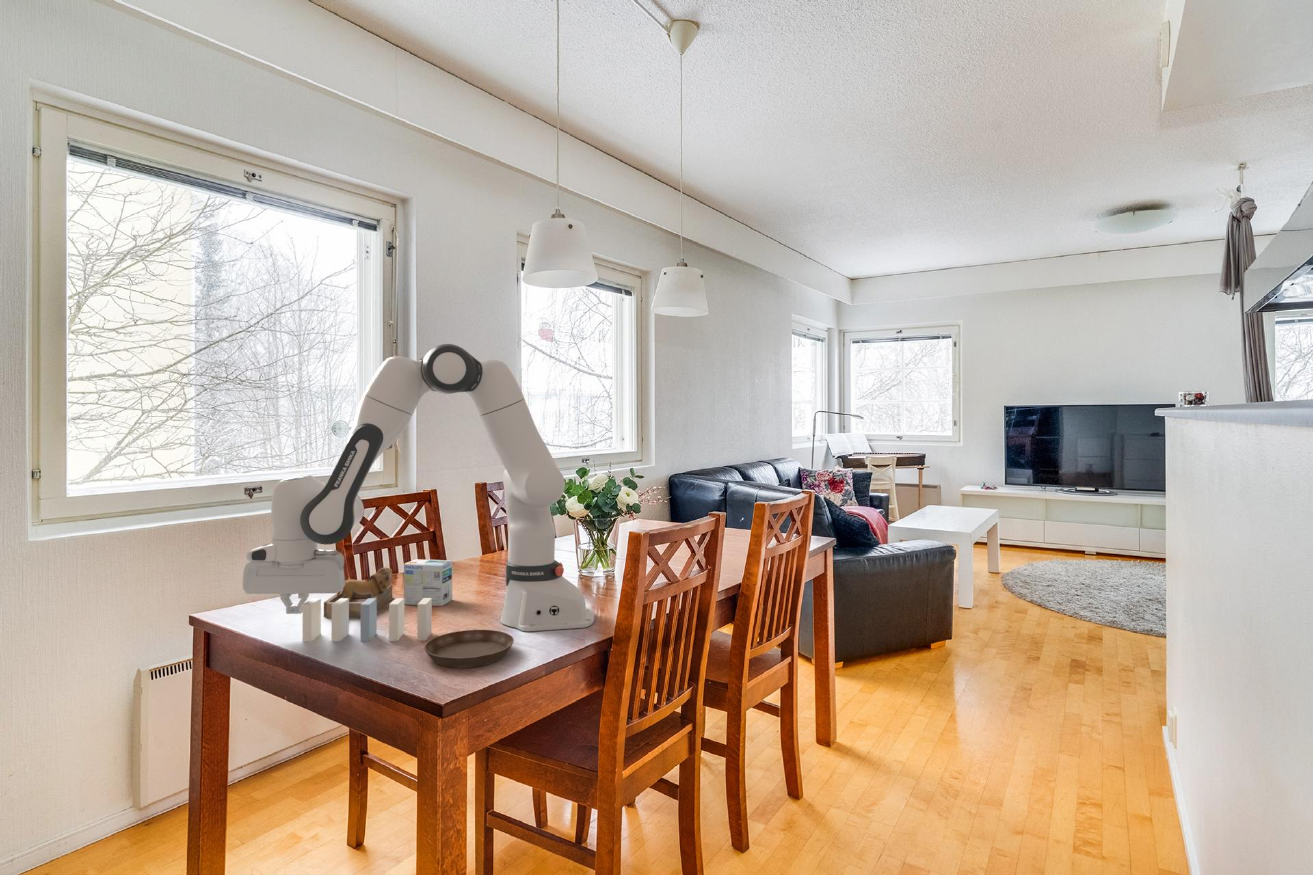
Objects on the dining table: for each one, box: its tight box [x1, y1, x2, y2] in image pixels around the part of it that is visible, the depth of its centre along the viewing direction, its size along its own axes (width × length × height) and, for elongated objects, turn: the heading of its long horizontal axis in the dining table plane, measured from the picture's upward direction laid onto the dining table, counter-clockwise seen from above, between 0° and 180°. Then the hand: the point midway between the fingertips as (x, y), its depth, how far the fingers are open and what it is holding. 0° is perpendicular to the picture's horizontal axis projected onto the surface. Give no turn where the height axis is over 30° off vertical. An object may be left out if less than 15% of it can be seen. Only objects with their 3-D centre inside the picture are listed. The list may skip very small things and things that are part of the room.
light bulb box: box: [403, 558, 453, 607], centre depth 177 cm, size 11×7×11 cm, turn 84°
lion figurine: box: [336, 567, 394, 602], centre depth 172 cm, size 15×5×9 cm, turn 124°
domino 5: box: [416, 598, 433, 642], centre depth 150 cm, size 2×5×8 cm, turn 5°
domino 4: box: [388, 597, 405, 642], centre depth 149 cm, size 2×5×8 cm, turn 5°
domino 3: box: [359, 598, 378, 642], centre depth 149 cm, size 2×5×8 cm, turn 5°
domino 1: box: [302, 597, 322, 643], centre depth 148 cm, size 2×5×8 cm, turn 5°
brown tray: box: [323, 584, 393, 619], centre depth 172 cm, size 11×19×4 cm, turn 5°
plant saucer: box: [423, 629, 515, 669], centre depth 139 cm, size 18×18×3 cm
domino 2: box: [331, 598, 350, 642], centre depth 148 cm, size 2×5×8 cm, turn 5°
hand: (294, 613), depth 148 cm, fingers closed
